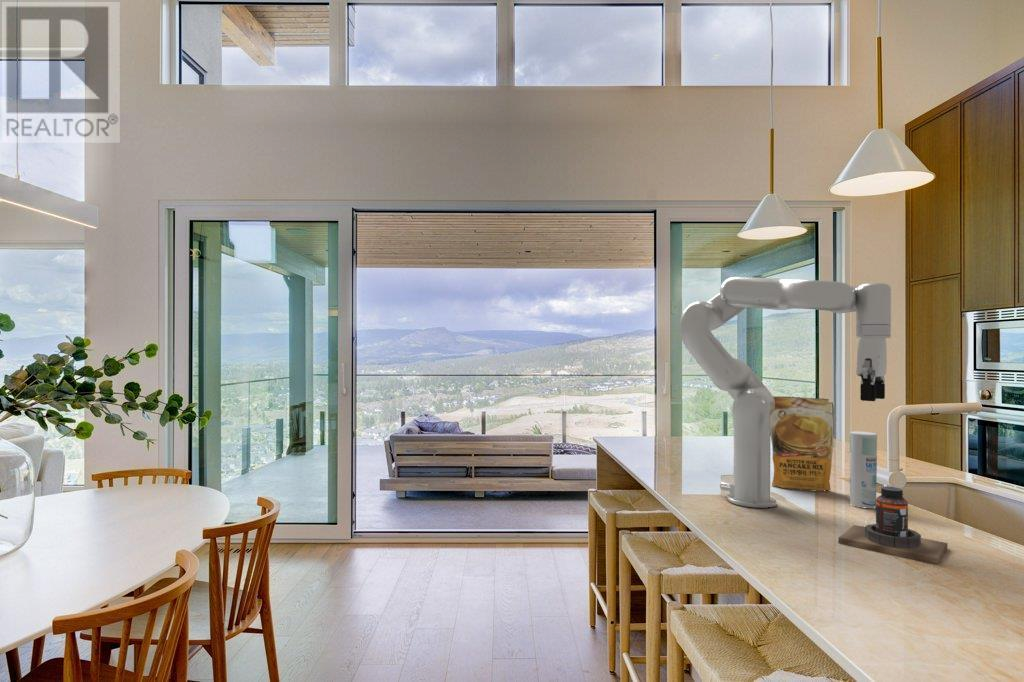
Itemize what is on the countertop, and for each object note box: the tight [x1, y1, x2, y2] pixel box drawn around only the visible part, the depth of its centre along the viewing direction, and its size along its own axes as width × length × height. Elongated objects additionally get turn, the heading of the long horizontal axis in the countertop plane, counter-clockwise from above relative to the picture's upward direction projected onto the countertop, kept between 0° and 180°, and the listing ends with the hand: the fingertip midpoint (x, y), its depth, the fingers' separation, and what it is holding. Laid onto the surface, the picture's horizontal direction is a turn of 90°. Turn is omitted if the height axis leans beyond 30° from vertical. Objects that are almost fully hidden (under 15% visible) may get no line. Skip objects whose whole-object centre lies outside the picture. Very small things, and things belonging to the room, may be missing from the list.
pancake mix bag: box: [770, 395, 835, 492], centre depth 180 cm, size 7×19×28 cm, turn 71°
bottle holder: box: [837, 523, 948, 565], centre depth 128 cm, size 18×13×3 cm
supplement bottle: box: [875, 486, 909, 537], centre depth 128 cm, size 6×6×11 cm
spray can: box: [849, 430, 878, 509], centre depth 161 cm, size 6×6×20 cm
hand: (872, 399), depth 148 cm, fingers open, 9 cm apart
